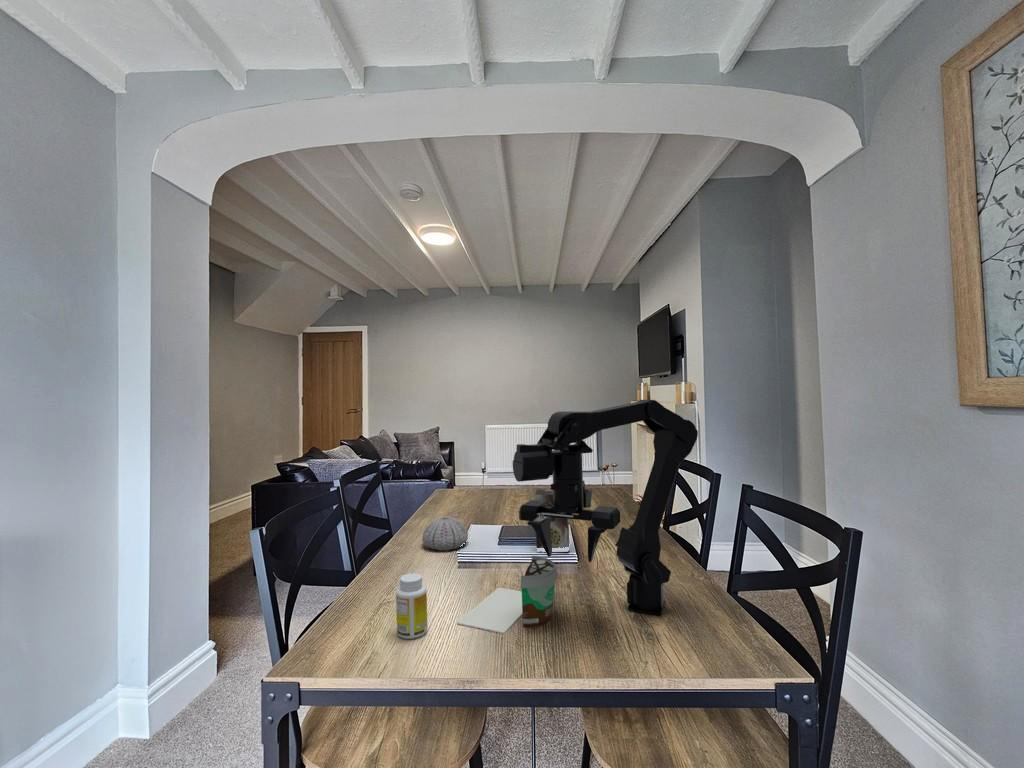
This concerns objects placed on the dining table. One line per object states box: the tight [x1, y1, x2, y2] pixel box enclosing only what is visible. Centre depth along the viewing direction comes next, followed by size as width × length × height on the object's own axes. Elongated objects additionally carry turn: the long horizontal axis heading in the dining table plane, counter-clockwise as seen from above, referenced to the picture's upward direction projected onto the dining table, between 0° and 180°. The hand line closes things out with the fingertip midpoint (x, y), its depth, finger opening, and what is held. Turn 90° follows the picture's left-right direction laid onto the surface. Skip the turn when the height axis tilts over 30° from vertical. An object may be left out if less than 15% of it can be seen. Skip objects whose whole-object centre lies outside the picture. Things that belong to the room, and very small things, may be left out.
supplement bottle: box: [395, 573, 428, 640], centre depth 91 cm, size 6×6×10 cm
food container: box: [520, 555, 559, 629], centre depth 96 cm, size 12×6×10 cm, turn 168°
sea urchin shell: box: [421, 516, 469, 552], centre depth 142 cm, size 13×14×8 cm
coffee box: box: [534, 488, 570, 548], centre depth 137 cm, size 9×6×16 cm
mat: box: [456, 587, 523, 635], centre depth 100 cm, size 10×18×1 cm, turn 155°
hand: (569, 558), depth 94 cm, fingers open, 8 cm apart
